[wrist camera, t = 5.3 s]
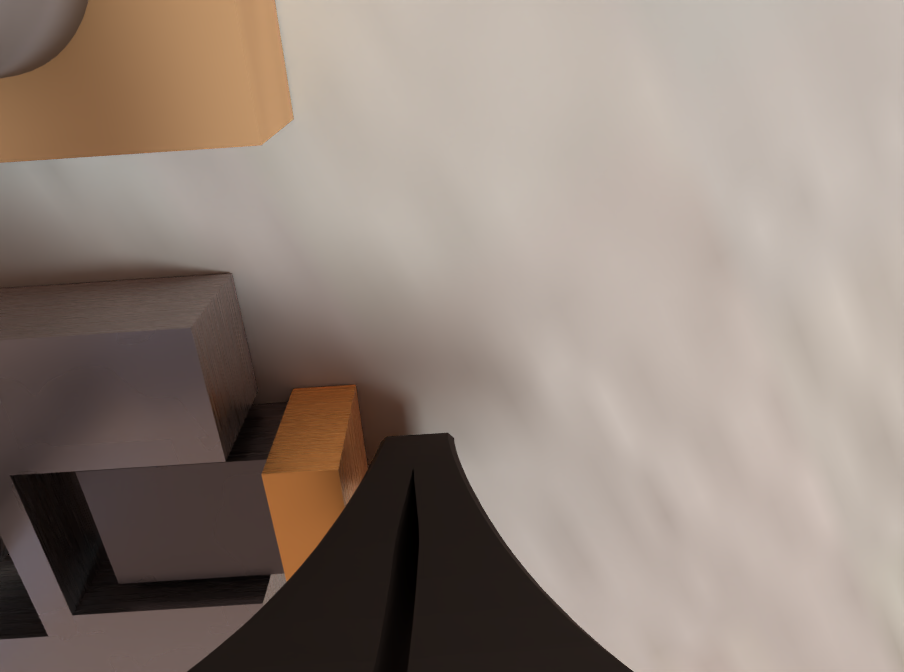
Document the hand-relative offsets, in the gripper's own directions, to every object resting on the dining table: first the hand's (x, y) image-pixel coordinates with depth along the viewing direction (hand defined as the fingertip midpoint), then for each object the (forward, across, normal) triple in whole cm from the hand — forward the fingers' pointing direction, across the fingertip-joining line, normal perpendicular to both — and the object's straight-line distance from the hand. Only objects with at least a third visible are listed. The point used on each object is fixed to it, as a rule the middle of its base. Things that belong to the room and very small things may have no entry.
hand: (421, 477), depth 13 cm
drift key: (+1, +4, 0) cm, 4 cm away
